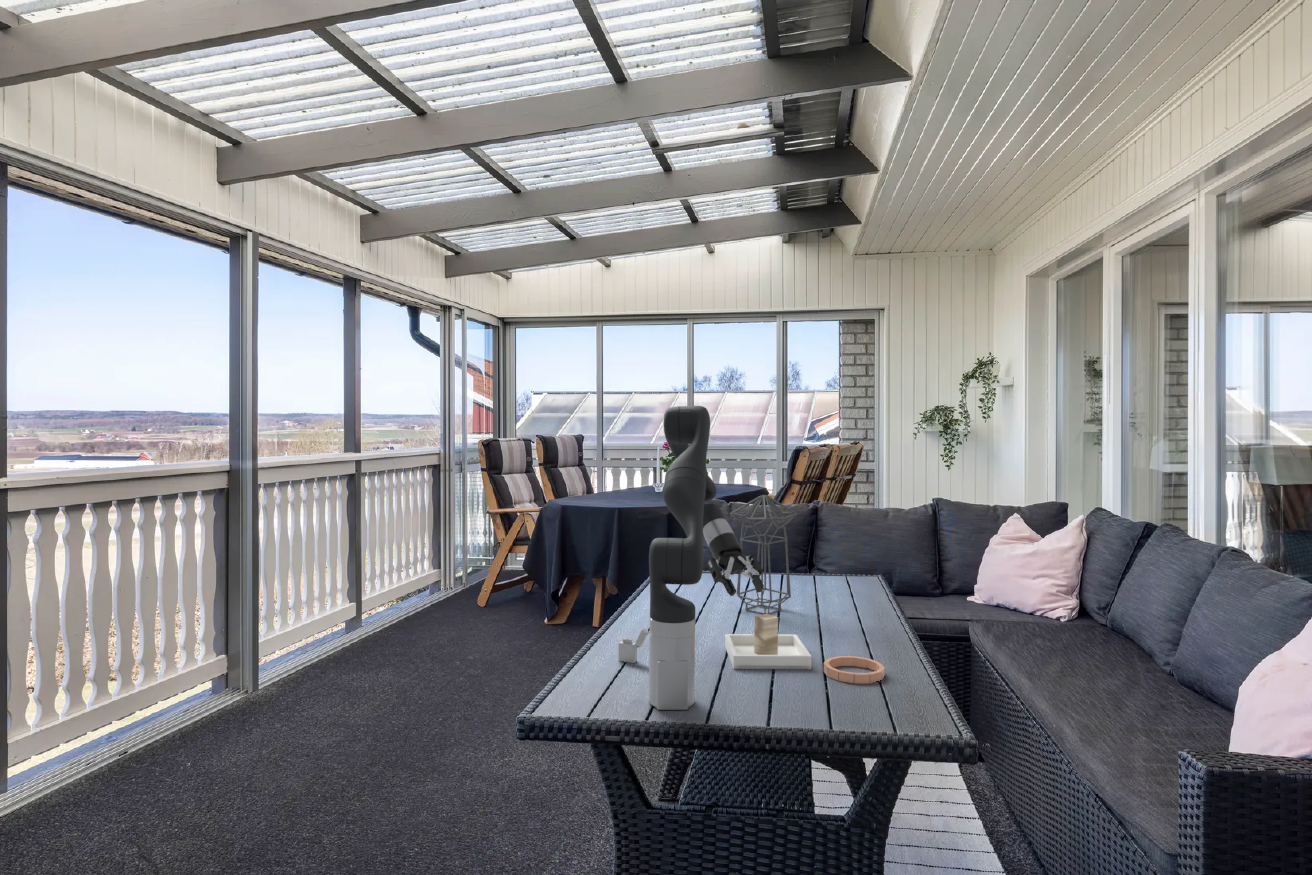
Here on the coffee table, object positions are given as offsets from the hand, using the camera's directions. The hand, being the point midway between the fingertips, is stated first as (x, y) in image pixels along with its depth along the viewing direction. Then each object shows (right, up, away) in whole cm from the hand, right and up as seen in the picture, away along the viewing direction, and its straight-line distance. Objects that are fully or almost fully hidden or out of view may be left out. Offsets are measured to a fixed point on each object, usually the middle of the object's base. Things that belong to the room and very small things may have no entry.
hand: (747, 592), depth 194 cm
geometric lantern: (+9, -13, +39) cm, 42 cm away
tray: (+4, -14, -6) cm, 16 cm away
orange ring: (+22, -15, -18) cm, 32 cm away
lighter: (-28, -14, -11) cm, 34 cm away
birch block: (+4, -14, -6) cm, 15 cm away
